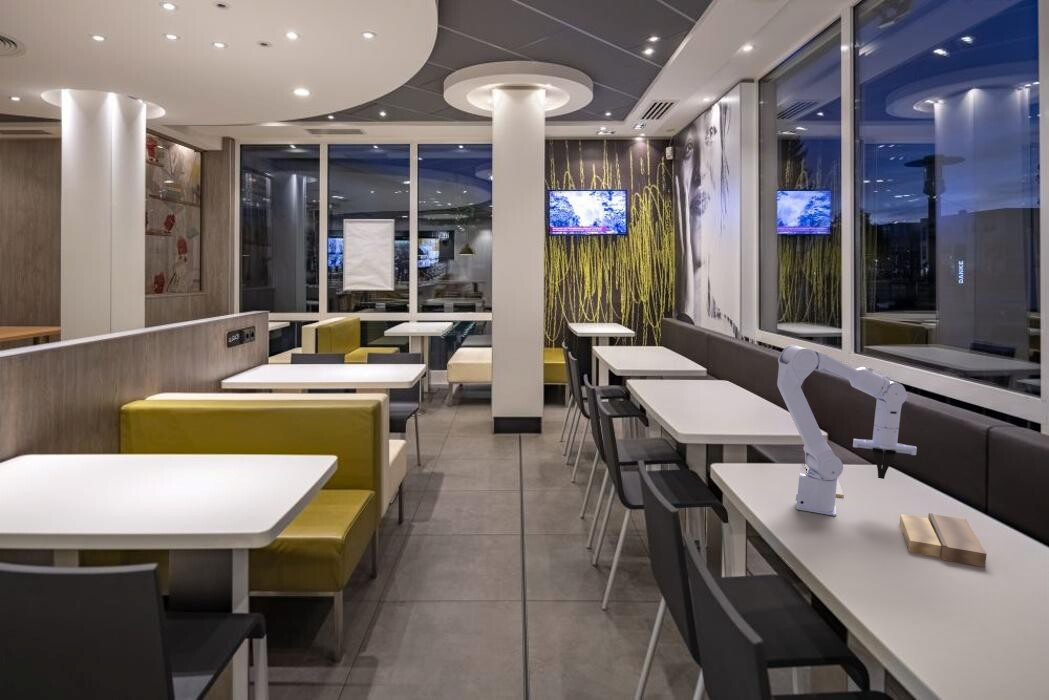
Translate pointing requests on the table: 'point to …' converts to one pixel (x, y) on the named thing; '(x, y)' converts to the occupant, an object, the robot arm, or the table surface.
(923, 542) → the oak plank
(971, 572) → the table surface
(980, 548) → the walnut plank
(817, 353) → the robot arm
